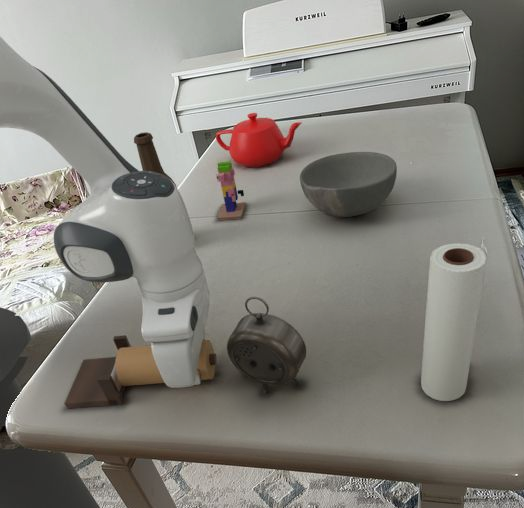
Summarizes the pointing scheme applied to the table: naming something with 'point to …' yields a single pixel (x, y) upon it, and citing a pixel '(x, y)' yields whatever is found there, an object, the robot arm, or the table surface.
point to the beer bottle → (148, 154)
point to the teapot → (257, 141)
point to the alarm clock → (266, 349)
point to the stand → (97, 382)
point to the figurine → (229, 193)
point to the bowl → (349, 182)
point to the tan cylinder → (154, 365)
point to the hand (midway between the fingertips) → (198, 364)
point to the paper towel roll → (451, 318)
